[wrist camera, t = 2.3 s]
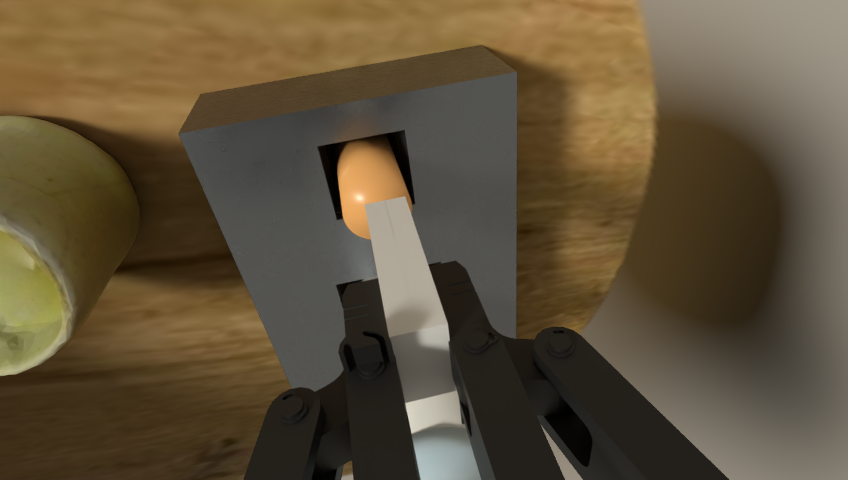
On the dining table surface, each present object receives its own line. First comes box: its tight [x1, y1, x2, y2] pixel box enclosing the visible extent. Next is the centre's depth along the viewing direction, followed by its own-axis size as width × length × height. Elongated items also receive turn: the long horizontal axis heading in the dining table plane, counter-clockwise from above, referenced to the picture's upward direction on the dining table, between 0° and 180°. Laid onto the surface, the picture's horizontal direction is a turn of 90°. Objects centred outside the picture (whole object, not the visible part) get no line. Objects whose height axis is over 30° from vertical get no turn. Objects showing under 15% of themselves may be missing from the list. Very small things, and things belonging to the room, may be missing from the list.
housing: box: [178, 45, 517, 392], centre depth 28 cm, size 14×24×5 cm, turn 7°
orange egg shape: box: [335, 134, 412, 240], centre depth 21 cm, size 3×3×6 cm
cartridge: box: [352, 276, 481, 480], centre depth 24 cm, size 5×5×15 cm
